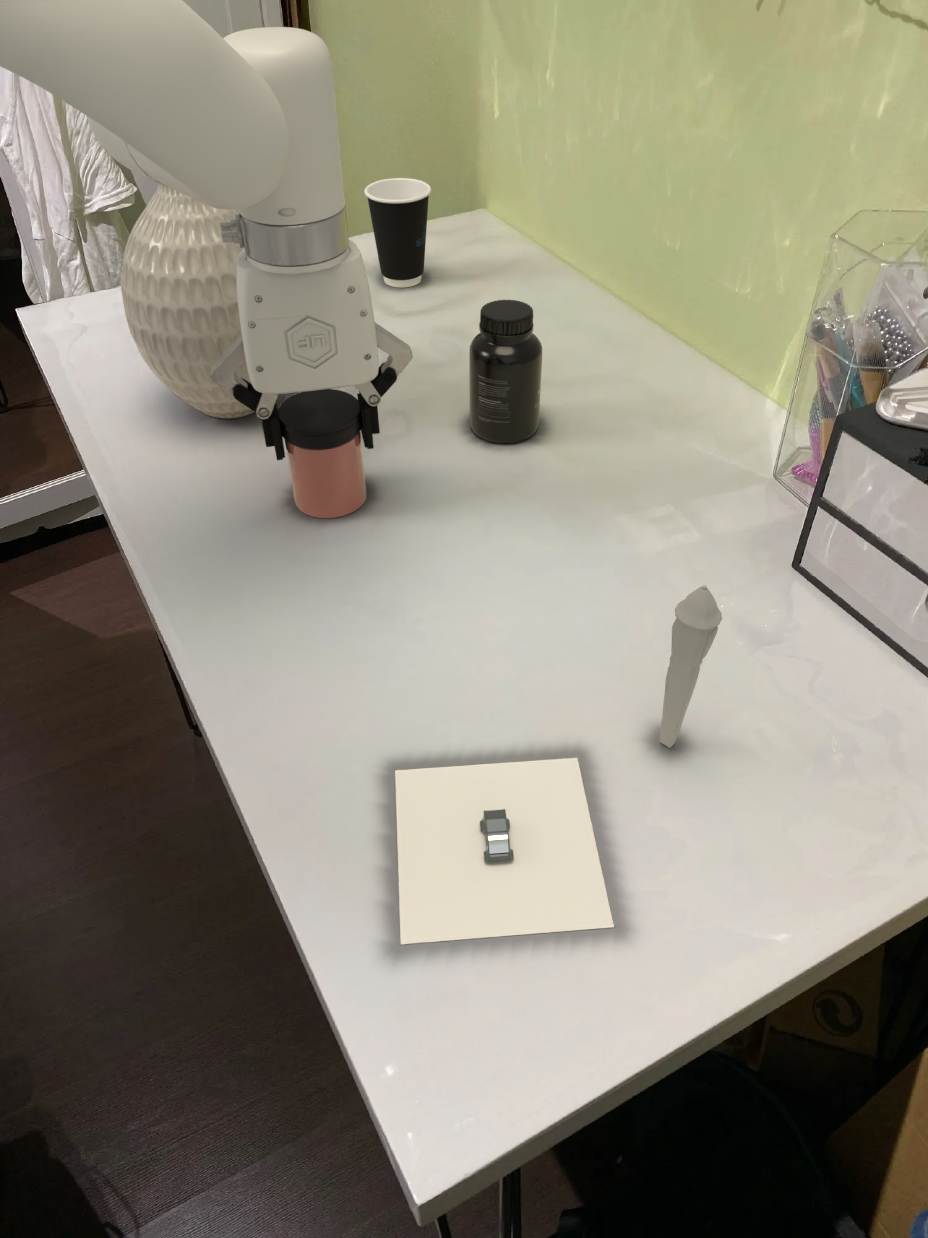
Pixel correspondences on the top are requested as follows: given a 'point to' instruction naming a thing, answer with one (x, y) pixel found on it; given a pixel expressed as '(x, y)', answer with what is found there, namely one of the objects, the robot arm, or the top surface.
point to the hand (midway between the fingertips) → (323, 444)
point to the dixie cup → (399, 228)
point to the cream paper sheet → (496, 852)
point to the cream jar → (328, 478)
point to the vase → (184, 297)
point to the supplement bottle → (505, 373)
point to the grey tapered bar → (687, 657)
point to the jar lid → (320, 418)
